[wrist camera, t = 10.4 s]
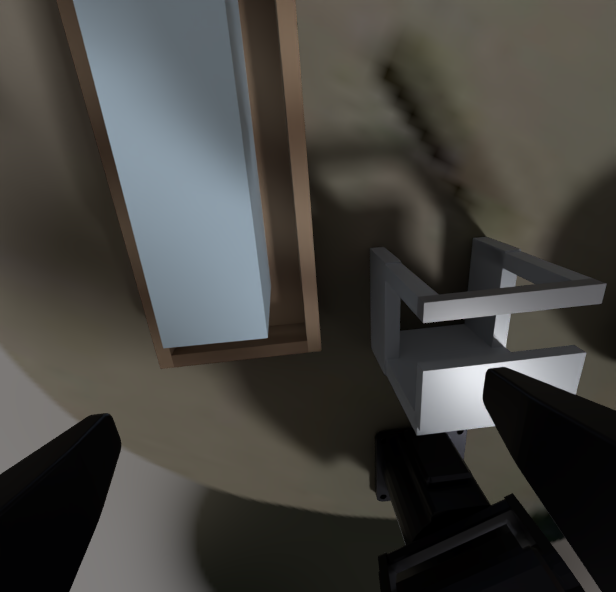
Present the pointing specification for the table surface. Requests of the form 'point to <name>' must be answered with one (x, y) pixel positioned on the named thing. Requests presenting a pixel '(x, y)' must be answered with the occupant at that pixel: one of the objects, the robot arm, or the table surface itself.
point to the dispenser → (469, 332)
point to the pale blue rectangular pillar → (184, 160)
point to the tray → (272, 181)
